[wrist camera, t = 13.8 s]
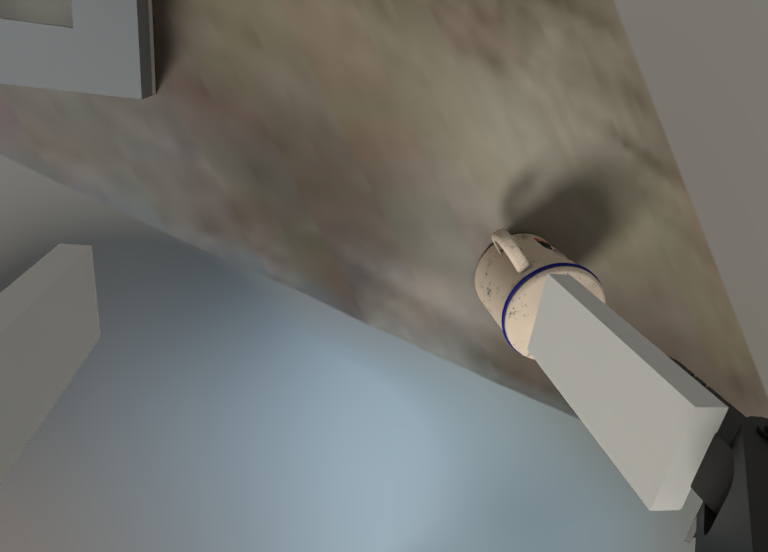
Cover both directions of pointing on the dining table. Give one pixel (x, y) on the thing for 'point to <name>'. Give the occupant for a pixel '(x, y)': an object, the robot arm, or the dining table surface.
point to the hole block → (79, 46)
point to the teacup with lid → (523, 282)
